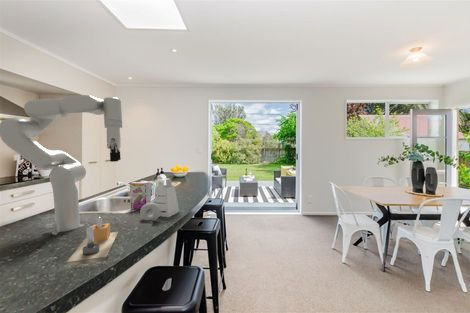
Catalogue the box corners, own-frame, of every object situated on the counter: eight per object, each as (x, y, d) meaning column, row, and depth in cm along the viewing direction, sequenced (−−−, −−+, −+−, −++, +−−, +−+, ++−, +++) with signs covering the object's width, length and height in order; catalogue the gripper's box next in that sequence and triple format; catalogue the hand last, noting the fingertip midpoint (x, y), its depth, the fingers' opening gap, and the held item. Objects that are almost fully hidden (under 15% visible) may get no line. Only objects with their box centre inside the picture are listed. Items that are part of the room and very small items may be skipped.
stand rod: (97, 239, 101) (95, 217, 100) (98, 237, 103) (97, 216, 102) (102, 238, 101) (101, 217, 101) (103, 236, 103) (102, 215, 103)
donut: (140, 223, 124) (139, 204, 123) (140, 221, 127) (139, 202, 126) (160, 221, 126) (159, 202, 126) (160, 219, 130) (160, 201, 129)
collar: (89, 242, 98) (88, 229, 98) (93, 236, 104) (93, 224, 104) (107, 239, 100) (106, 227, 100) (110, 234, 106) (109, 223, 106)
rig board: (66, 266, 82) (66, 262, 82) (88, 238, 106) (88, 235, 106) (106, 260, 85) (106, 256, 85) (118, 235, 109) (118, 231, 109)
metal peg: (80, 256, 85) (79, 229, 85) (85, 250, 90) (83, 224, 90) (97, 254, 87) (95, 227, 86) (100, 248, 92) (99, 223, 91)
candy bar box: (130, 209, 152) (129, 183, 151) (135, 207, 157) (134, 181, 156) (146, 209, 150) (145, 183, 149) (151, 207, 155) (150, 182, 154)
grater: (152, 215, 137) (151, 180, 136) (164, 210, 147) (162, 177, 146) (168, 217, 134) (167, 180, 133) (179, 211, 144) (177, 178, 142)
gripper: (107, 125, 122) (109, 160, 123) (101, 123, 106) (103, 162, 107) (123, 125, 124) (125, 159, 125) (120, 123, 108) (122, 161, 109)
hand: (115, 160), depth 116 cm, fingers open, 9 cm apart
